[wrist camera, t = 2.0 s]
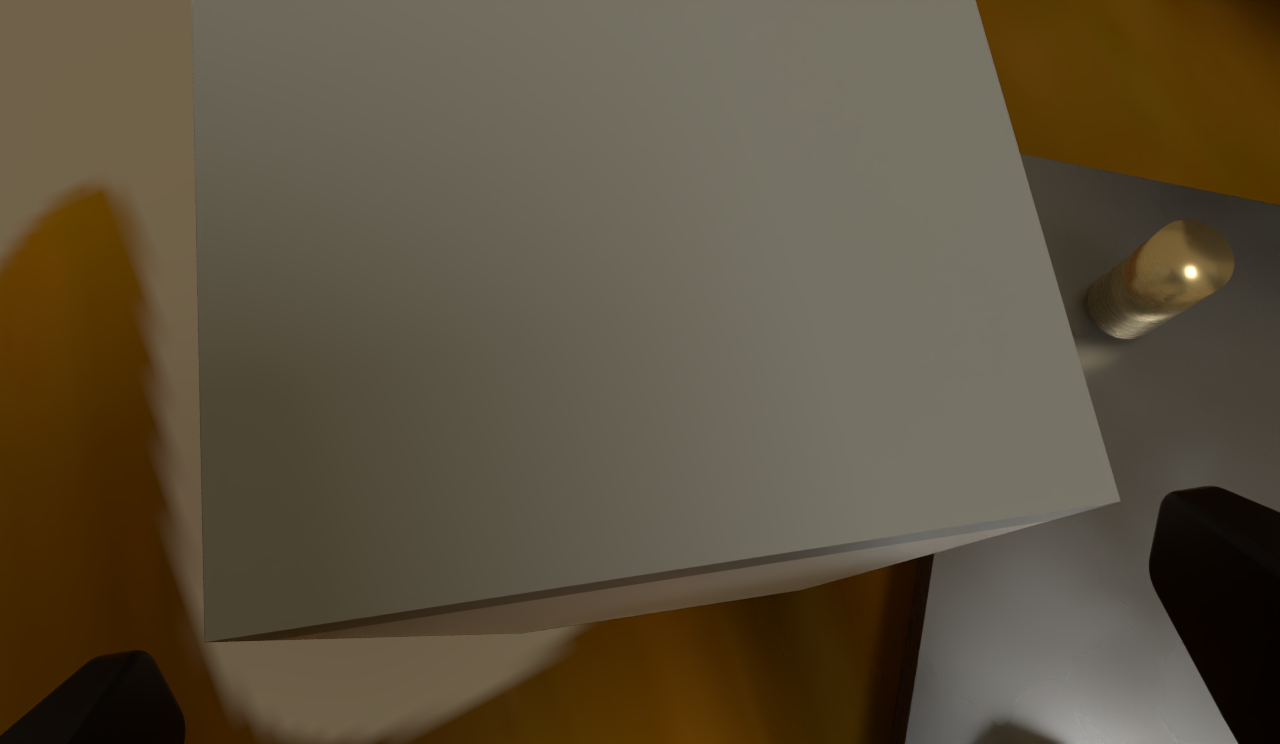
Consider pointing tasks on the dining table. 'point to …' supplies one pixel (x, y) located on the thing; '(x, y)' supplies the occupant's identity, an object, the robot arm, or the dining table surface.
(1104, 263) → the plate
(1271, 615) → the robot arm
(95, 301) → the dining table surface
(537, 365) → the module box
